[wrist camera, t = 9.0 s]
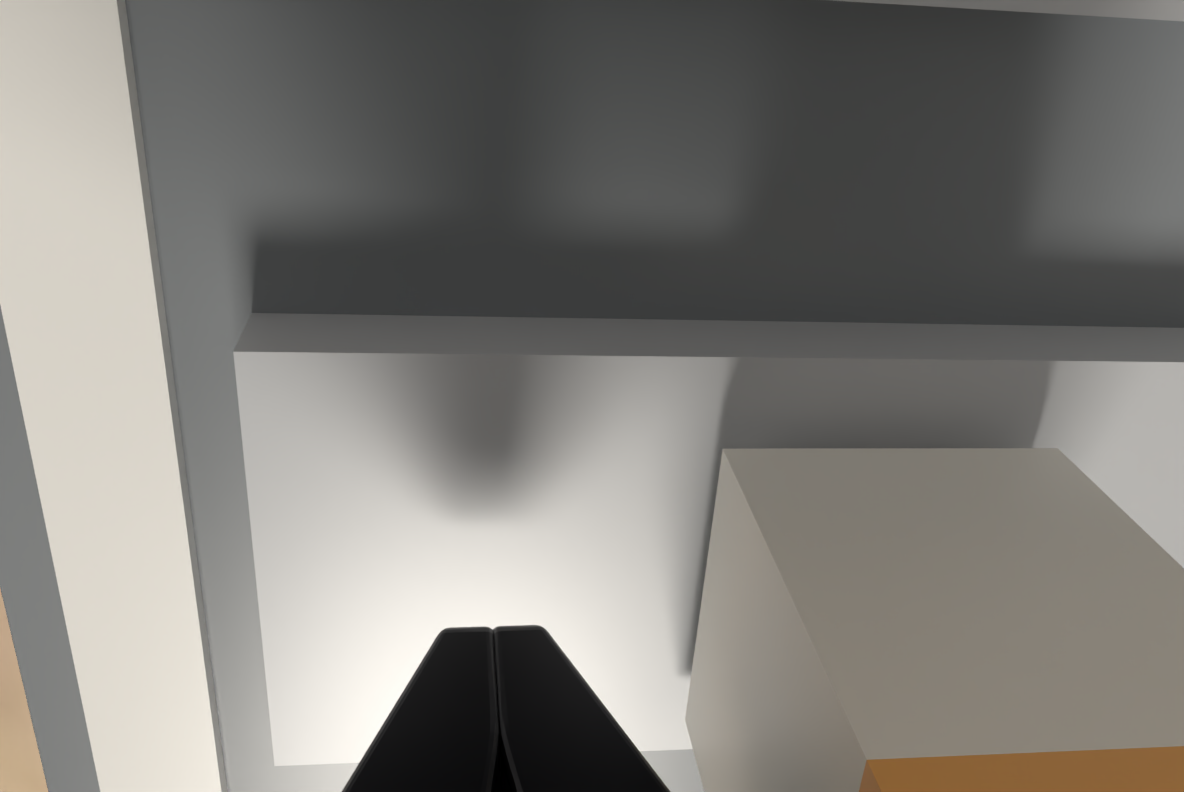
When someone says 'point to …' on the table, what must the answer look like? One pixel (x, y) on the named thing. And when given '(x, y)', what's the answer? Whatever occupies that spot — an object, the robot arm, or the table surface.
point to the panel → (527, 328)
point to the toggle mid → (933, 628)
